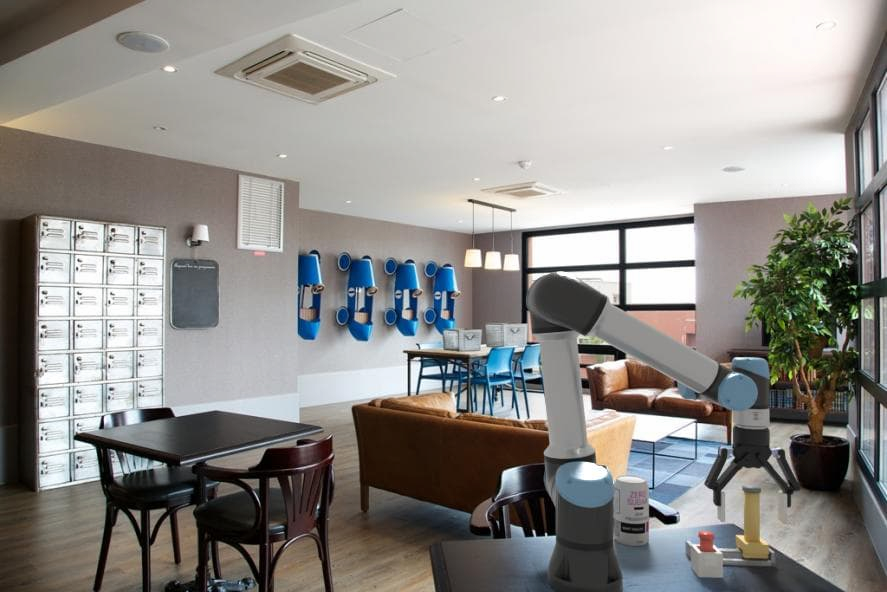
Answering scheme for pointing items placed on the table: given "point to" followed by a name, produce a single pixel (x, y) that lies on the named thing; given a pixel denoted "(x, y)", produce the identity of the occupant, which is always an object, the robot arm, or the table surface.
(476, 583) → the table surface
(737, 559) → the rail
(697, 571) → the white button housing
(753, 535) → the sliding lever handle
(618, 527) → the supplement can
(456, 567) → the table surface
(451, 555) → the table surface
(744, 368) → the robot arm
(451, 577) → the table surface
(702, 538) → the button
